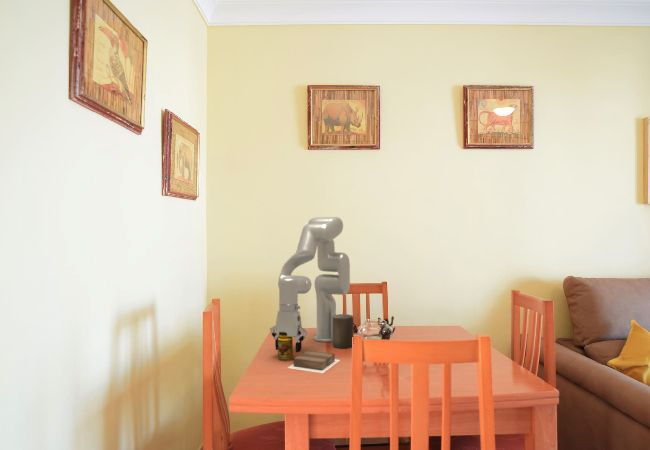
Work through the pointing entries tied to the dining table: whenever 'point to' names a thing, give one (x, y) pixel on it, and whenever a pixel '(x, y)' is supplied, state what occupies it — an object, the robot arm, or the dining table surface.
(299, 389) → the dining table surface
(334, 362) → the base board
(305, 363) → the plinth
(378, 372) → the dining table surface
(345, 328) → the pillar candle
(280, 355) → the condiment
